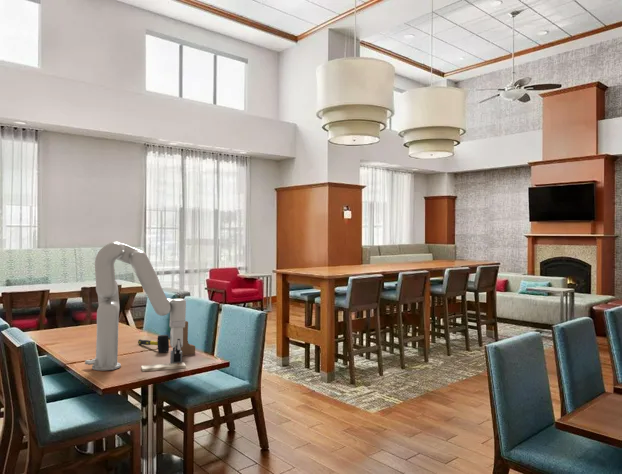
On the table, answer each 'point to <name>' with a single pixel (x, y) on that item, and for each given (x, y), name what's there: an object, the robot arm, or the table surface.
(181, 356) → the block
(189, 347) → the wooden block
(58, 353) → the table surface
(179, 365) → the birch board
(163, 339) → the mallet
